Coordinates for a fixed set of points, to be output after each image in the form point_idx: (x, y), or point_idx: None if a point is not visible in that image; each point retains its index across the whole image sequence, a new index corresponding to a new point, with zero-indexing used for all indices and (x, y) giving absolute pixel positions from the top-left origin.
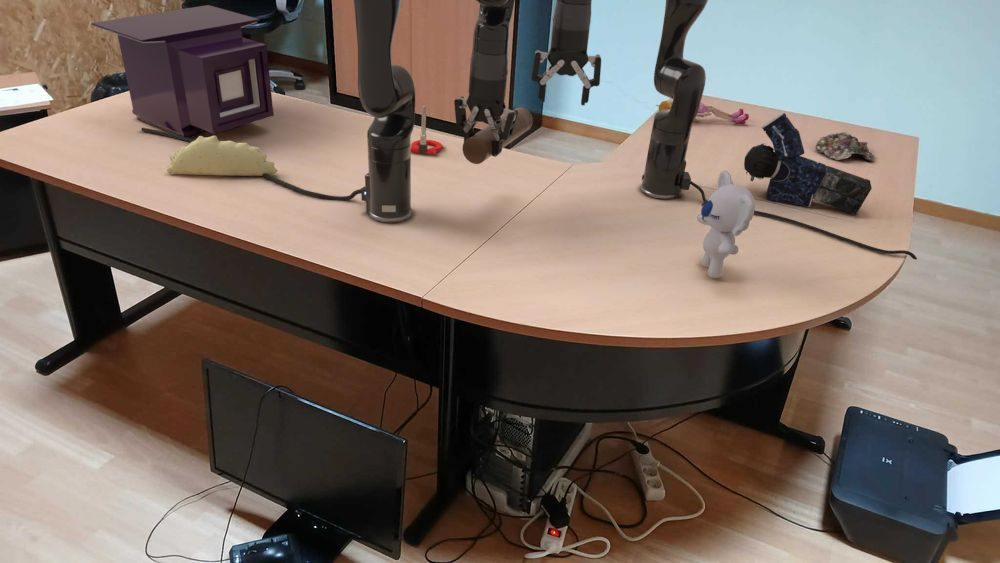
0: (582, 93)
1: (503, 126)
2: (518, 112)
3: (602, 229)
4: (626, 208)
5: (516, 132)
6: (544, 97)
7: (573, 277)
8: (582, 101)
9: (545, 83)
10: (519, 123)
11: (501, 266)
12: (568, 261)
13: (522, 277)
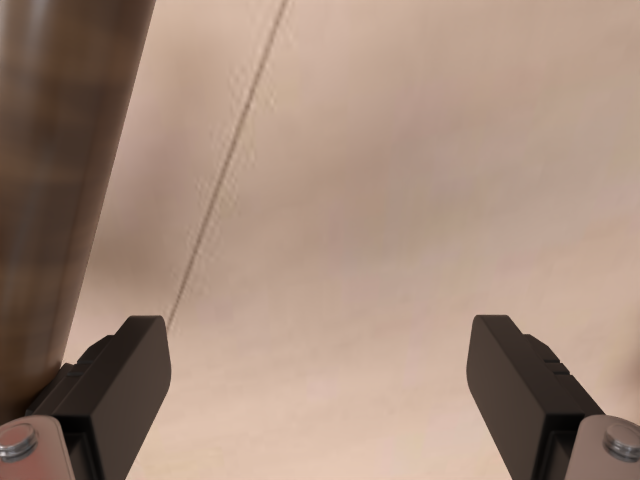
0: (505, 408)
1: (9, 300)
2: (23, 57)
3: (454, 209)
4: (555, 60)
5: (95, 208)
6: (153, 411)
7: (363, 410)
8: (481, 404)
9: (89, 448)
10: (80, 160)
11: (222, 395)
12: (357, 360)
13: (267, 422)
